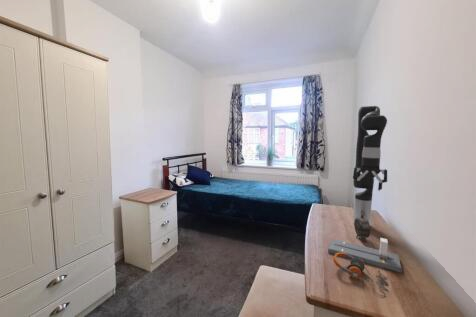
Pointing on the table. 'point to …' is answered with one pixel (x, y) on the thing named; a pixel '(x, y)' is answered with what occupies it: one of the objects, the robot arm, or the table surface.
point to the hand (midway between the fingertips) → (368, 189)
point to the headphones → (357, 269)
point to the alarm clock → (362, 227)
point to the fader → (383, 248)
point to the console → (365, 254)
